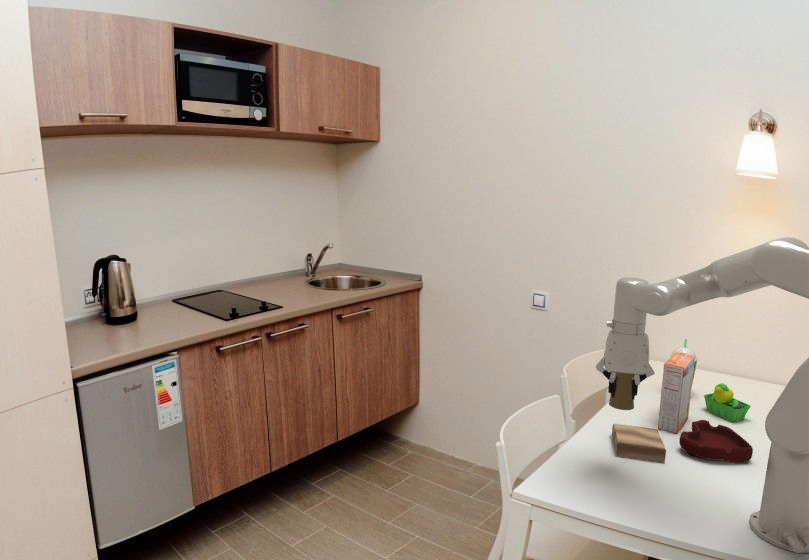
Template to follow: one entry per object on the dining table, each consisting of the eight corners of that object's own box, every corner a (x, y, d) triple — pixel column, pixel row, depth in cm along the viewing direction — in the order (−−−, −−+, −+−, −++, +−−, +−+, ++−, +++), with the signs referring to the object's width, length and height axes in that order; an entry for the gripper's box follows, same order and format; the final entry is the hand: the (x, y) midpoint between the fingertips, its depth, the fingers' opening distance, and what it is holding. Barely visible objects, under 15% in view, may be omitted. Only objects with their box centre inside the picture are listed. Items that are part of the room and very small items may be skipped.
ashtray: (742, 477, 137) (745, 459, 136) (674, 453, 148) (676, 436, 147) (758, 452, 150) (761, 435, 149) (694, 432, 161) (696, 416, 160)
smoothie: (660, 392, 189) (666, 337, 186) (677, 388, 193) (683, 334, 189) (681, 401, 182) (688, 344, 178) (698, 397, 185) (705, 341, 182)
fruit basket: (750, 421, 168) (755, 386, 166) (729, 425, 165) (734, 390, 163) (717, 406, 178) (721, 374, 176) (697, 410, 175) (702, 377, 173)
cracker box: (667, 413, 173) (675, 350, 169) (688, 418, 169) (696, 355, 165) (655, 428, 162) (663, 362, 158) (677, 434, 158) (685, 367, 154)
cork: (636, 411, 135) (640, 369, 133) (611, 409, 136) (615, 367, 134) (631, 401, 141) (635, 361, 139) (606, 399, 142) (610, 359, 140)
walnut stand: (664, 462, 143) (666, 449, 142) (616, 456, 146) (617, 442, 145) (656, 441, 154) (657, 428, 153) (611, 435, 157) (612, 423, 156)
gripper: (594, 328, 133) (589, 398, 136) (668, 334, 129) (660, 406, 132) (591, 321, 140) (586, 387, 143) (661, 326, 136) (654, 394, 140)
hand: (622, 395), depth 138 cm, fingers closed on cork, 4 cm apart
